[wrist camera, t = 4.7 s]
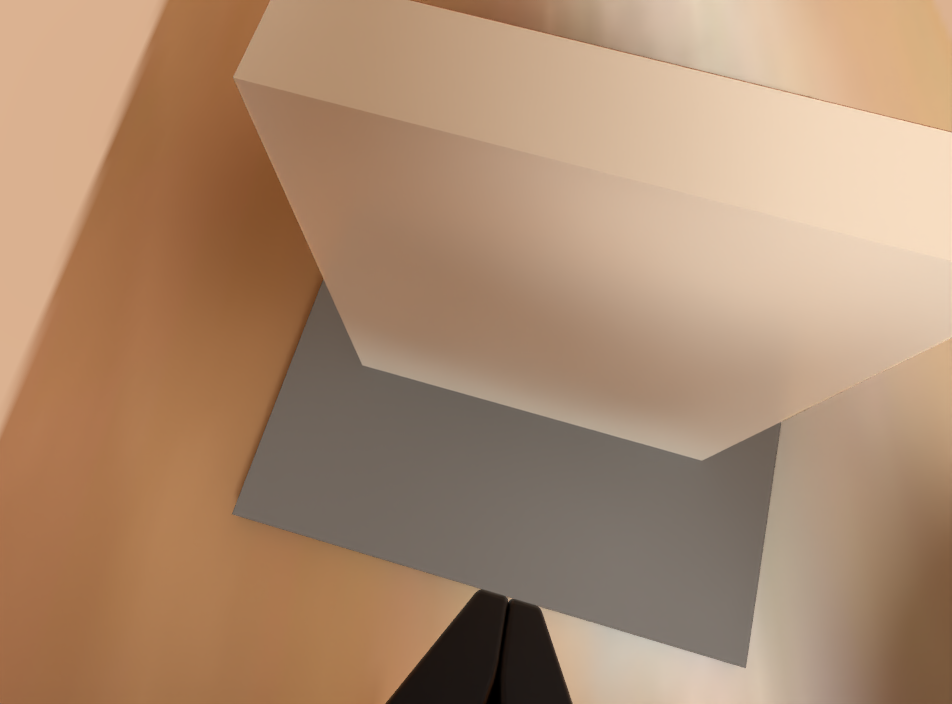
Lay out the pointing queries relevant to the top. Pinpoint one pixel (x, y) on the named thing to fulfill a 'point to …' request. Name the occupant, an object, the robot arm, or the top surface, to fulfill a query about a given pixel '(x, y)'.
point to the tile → (598, 221)
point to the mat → (514, 498)
